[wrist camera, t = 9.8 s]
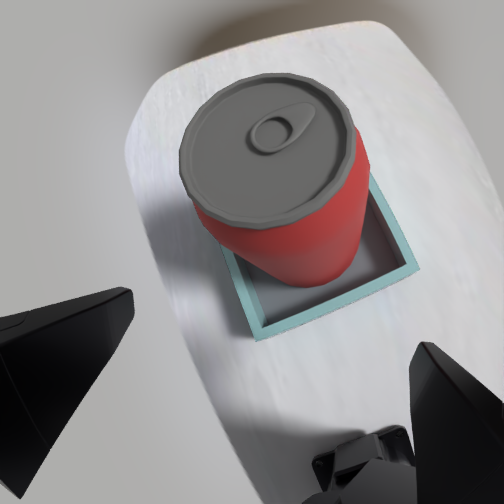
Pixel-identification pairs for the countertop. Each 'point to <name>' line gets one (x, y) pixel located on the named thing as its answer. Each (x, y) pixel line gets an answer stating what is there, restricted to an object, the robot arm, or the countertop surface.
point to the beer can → (279, 176)
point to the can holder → (335, 292)
